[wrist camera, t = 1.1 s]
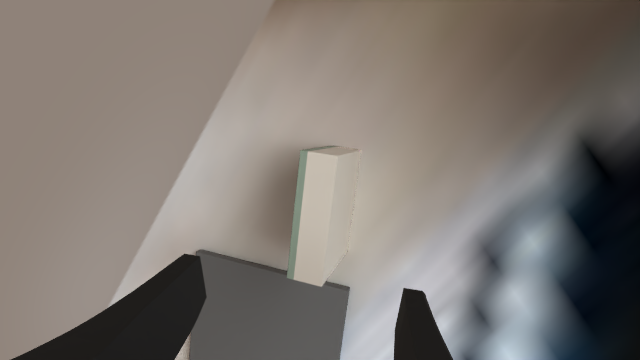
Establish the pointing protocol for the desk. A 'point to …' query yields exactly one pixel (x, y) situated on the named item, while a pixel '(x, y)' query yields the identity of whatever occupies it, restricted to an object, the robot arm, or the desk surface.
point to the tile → (322, 212)
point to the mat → (265, 314)
